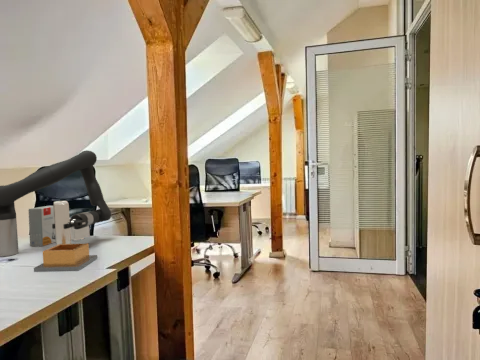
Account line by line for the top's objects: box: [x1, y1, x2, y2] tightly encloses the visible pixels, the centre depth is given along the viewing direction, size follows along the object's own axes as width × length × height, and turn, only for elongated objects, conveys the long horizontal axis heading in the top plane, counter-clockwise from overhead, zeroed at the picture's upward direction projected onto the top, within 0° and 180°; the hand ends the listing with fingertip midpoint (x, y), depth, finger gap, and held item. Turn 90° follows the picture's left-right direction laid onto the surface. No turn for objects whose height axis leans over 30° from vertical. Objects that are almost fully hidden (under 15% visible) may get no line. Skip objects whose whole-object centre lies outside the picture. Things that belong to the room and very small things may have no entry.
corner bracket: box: [70, 225, 91, 241], centre depth 212 cm, size 11×11×12 cm
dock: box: [33, 242, 98, 273], centre depth 155 cm, size 18×18×8 cm
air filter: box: [52, 200, 72, 246], centre depth 171 cm, size 6×6×25 cm
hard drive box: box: [28, 205, 56, 247], centre depth 199 cm, size 16×8×20 cm, turn 171°
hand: (58, 226), depth 169 cm, fingers closed on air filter, 5 cm apart
